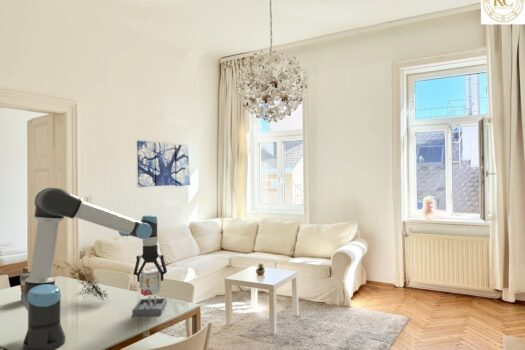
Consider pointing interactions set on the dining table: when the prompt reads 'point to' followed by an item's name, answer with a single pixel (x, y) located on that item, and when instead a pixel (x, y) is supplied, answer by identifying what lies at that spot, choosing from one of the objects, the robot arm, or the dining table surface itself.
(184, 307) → the dining table surface
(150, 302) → the pin tray
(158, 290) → the ink box
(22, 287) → the reusable coffee cup
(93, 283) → the dried plant
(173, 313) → the dining table surface
